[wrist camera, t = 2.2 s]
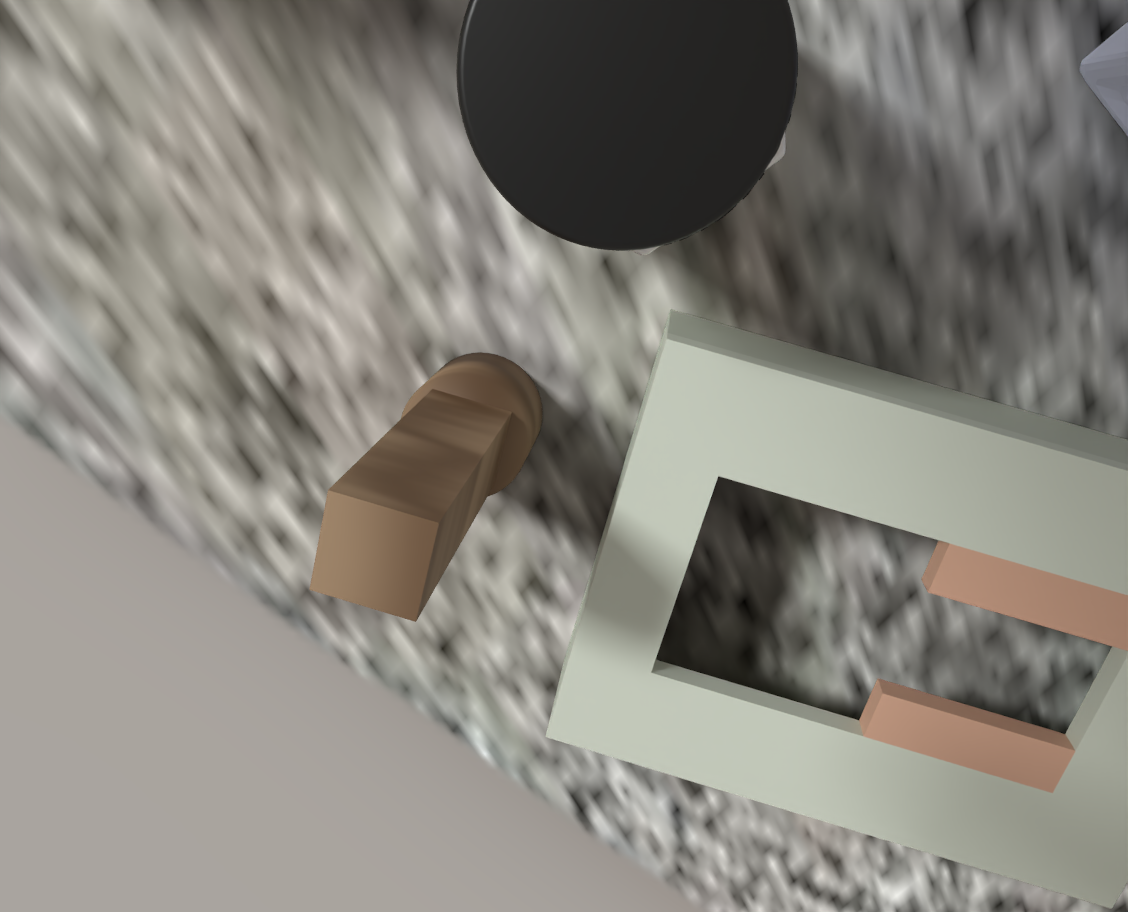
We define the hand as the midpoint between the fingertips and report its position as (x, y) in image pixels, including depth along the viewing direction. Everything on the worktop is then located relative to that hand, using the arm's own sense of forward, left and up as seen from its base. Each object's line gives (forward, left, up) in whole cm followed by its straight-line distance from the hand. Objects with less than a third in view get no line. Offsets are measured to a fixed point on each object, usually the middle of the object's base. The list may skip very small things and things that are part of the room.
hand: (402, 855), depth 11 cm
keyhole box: (+13, -6, -27) cm, 31 cm away
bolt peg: (-4, -4, -27) cm, 28 cm away
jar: (-1, +9, -27) cm, 29 cm away
